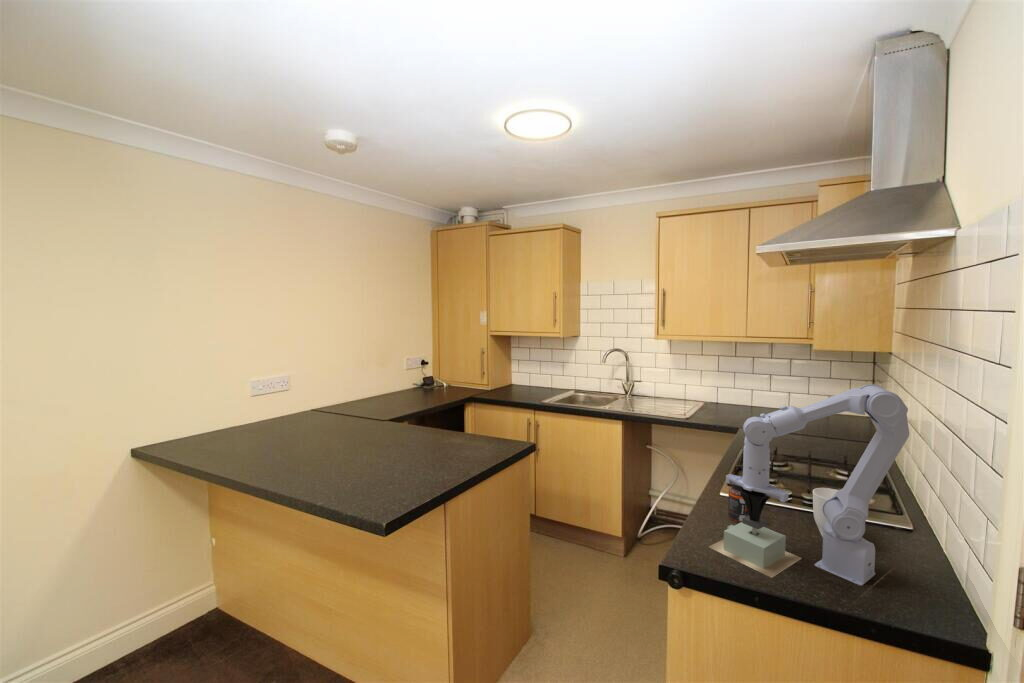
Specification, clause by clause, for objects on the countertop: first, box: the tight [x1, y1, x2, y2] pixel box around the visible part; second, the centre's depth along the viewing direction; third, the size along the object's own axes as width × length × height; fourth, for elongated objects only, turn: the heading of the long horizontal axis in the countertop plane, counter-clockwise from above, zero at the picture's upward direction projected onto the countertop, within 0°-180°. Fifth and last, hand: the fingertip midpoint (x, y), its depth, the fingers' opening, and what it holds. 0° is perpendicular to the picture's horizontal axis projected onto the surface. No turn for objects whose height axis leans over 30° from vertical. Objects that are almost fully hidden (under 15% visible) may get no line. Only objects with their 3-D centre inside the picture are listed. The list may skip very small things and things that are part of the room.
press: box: [723, 522, 787, 568], centre depth 113 cm, size 12×10×5 cm
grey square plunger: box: [742, 515, 768, 536], centre depth 112 cm, size 4×4×6 cm
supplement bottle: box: [727, 483, 749, 524], centre depth 130 cm, size 6×6×11 cm
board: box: [708, 538, 803, 579], centre depth 113 cm, size 16×14×1 cm
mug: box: [812, 487, 839, 538], centre depth 120 cm, size 12×9×12 cm
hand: (754, 519), depth 112 cm, fingers closed, pressing on grey square plunger
